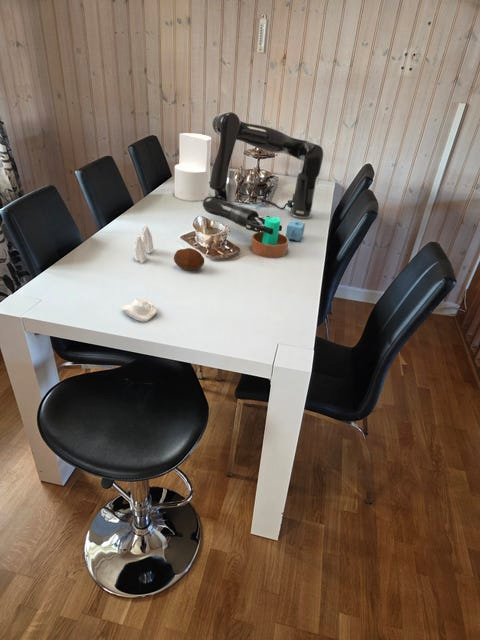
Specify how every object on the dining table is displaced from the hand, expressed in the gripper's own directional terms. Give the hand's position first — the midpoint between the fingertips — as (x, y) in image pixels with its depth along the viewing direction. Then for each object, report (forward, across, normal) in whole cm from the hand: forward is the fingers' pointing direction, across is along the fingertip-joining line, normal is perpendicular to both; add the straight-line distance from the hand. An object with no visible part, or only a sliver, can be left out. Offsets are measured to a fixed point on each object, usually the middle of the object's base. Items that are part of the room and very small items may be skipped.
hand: (276, 230), depth 167 cm
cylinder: (-70, +21, +10) cm, 73 cm away
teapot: (-3, +17, +9) cm, 20 cm away
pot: (-2, 0, +9) cm, 10 cm away
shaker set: (-28, -42, +10) cm, 51 cm away
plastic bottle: (-39, +15, +10) cm, 42 cm away
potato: (-10, -36, +10) cm, 38 cm away
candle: (-3, 0, +7) cm, 8 cm away
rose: (+2, -66, +9) cm, 67 cm away
